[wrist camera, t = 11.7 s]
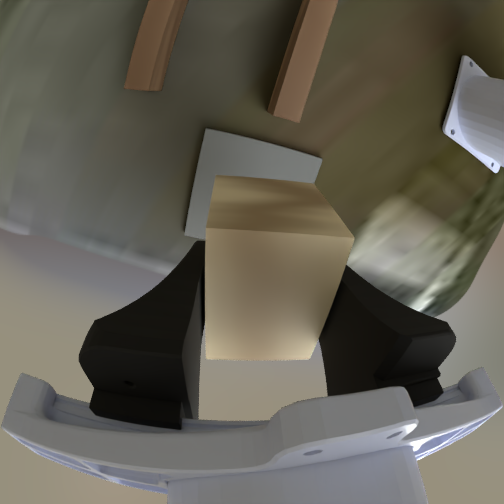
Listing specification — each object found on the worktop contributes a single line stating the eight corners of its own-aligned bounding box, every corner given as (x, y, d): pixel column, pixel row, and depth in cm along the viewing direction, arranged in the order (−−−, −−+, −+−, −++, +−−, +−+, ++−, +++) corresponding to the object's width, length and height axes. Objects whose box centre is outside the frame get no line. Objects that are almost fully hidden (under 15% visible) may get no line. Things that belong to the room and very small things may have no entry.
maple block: (313, 183, 12) (354, 238, 8) (291, 286, 15) (309, 359, 11) (215, 174, 12) (205, 227, 8) (211, 283, 15) (206, 359, 11)
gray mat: (321, 157, 18) (322, 159, 18) (285, 252, 22) (286, 255, 22) (206, 127, 17) (205, 128, 16) (185, 232, 21) (184, 235, 20)
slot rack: (331, -15, 11) (347, -29, 8) (289, 118, 17) (299, 122, 14) (185, -47, 9) (178, -65, 7) (140, 88, 15) (123, 88, 12)
